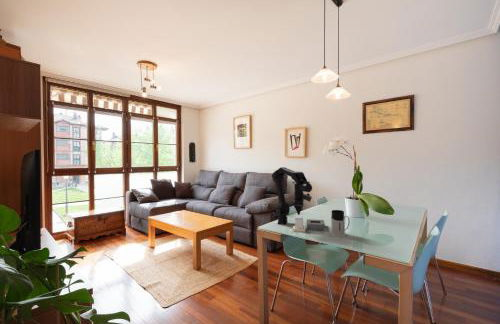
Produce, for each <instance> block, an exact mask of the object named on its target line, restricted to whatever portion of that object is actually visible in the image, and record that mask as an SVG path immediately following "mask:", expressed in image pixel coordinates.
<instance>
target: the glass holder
mask: <svg viewBox="0 0 500 324" xmlns="http://www.w3.org/2000/svg"><path fill="white" fill-rule="evenodd" d="M346 217H347V220H348V223H347V227H345V220H346ZM330 220H331V232H330V235H331V236H332V237H336V236H337V237H338V238H343V237H346V231H347V230H348V229H349V226H350V222H351V221H350V217H349V216H348V215H345V211H344V210H343V209H342V210H341V209H333V210H331V219H330ZM337 237H336V238H337Z"/></svg>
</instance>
